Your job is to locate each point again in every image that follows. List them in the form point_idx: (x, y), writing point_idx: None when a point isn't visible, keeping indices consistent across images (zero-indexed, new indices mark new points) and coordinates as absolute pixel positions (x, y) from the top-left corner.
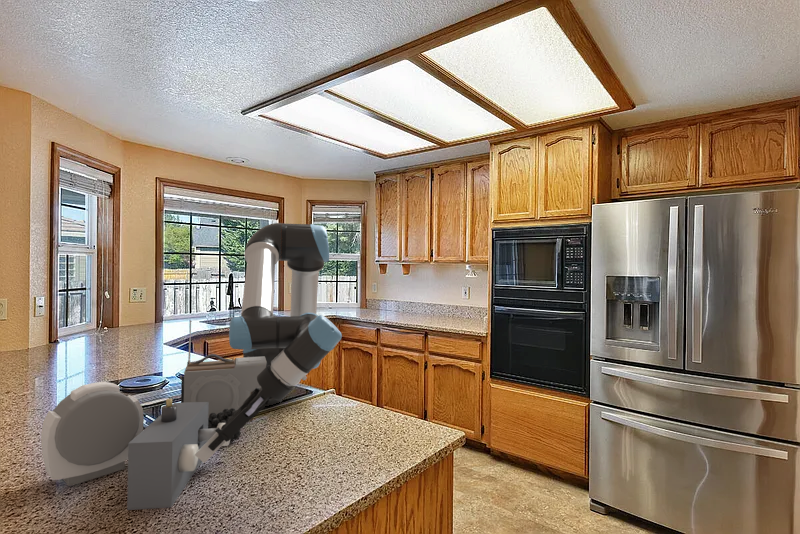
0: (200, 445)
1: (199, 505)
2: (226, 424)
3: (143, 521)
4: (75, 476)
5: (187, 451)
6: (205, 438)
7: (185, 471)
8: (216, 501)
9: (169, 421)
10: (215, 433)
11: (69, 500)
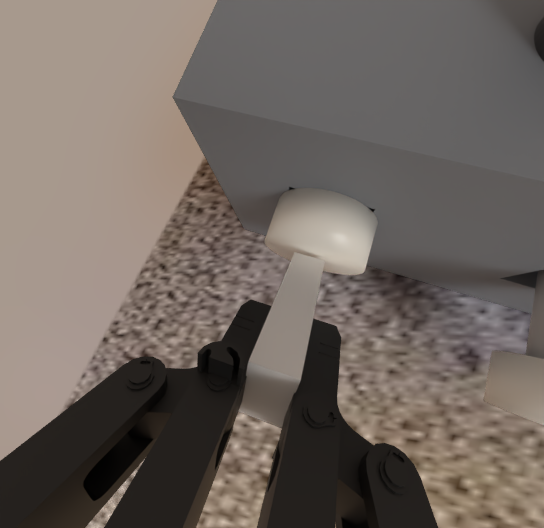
0: (531, 290)
1: (223, 289)
2: (166, 456)
3: (212, 180)
4: None
5: (286, 216)
6: (537, 306)
7: None
8: (223, 330)
9: (540, 44)
10: (289, 345)
11: None
